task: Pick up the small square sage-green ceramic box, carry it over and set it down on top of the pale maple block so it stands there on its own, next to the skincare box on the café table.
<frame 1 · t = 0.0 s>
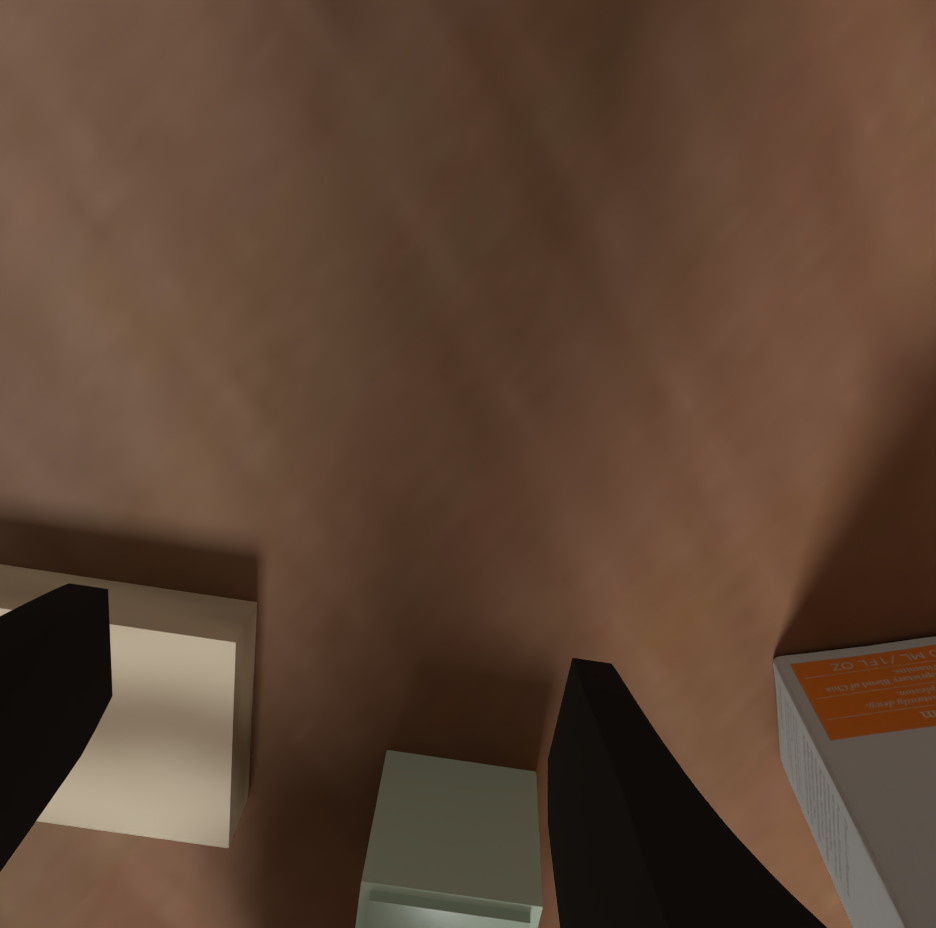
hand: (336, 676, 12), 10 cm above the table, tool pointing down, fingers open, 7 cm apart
maple block: (135, 679, 25), on the table
sage box: (451, 814, 27), on the table
skincare box: (866, 689, 24), on the table
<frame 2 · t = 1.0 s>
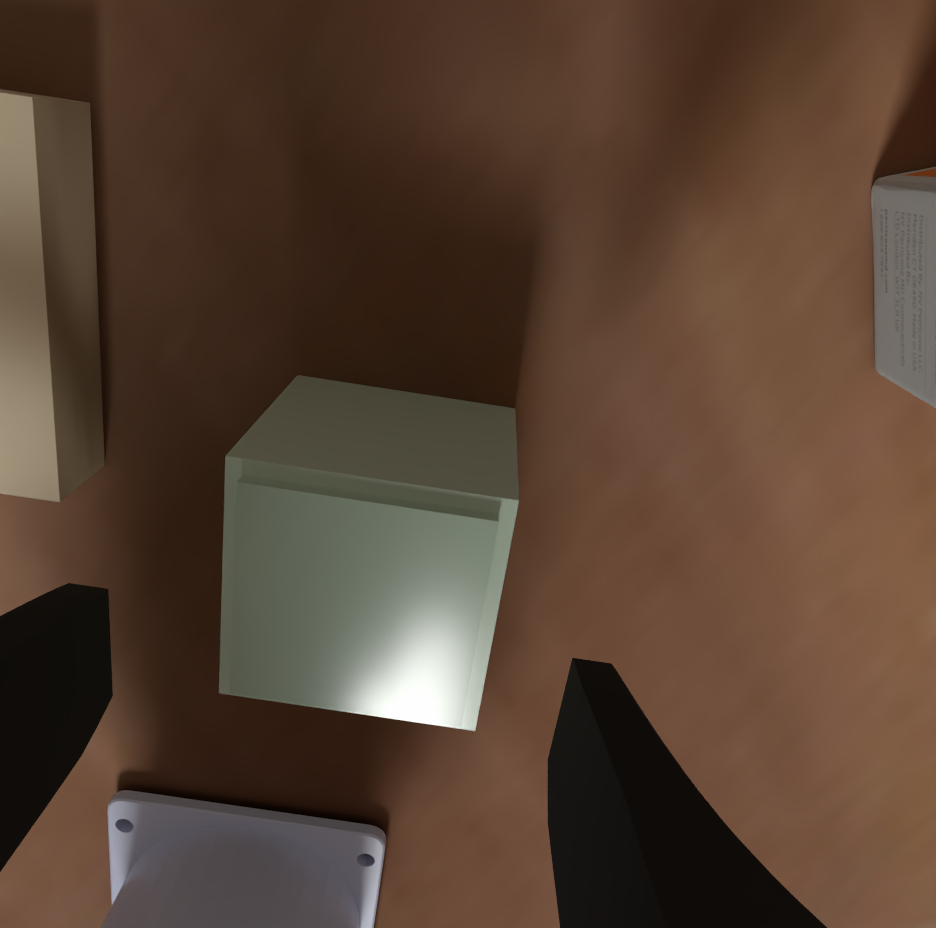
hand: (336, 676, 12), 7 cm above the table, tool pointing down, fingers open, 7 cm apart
sage box: (395, 489, 19), on the table
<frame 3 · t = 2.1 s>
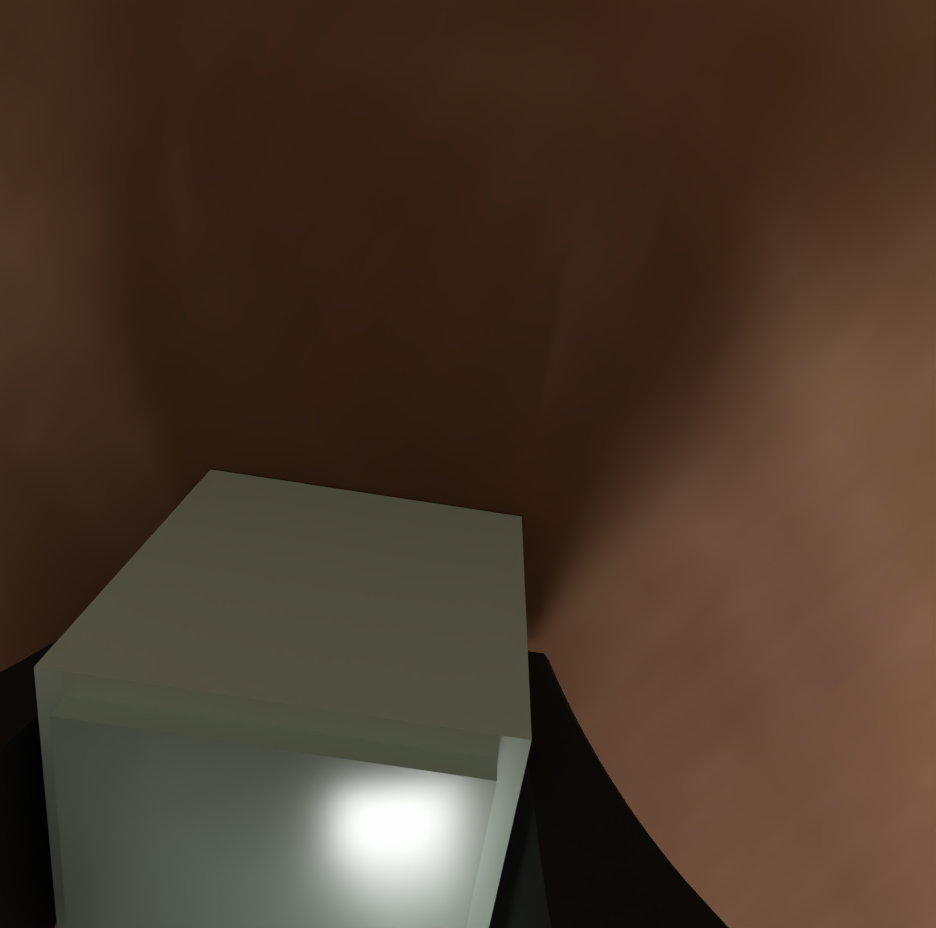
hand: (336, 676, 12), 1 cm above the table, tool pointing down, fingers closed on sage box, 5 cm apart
sage box: (352, 623, 13), on the table, touching gripper
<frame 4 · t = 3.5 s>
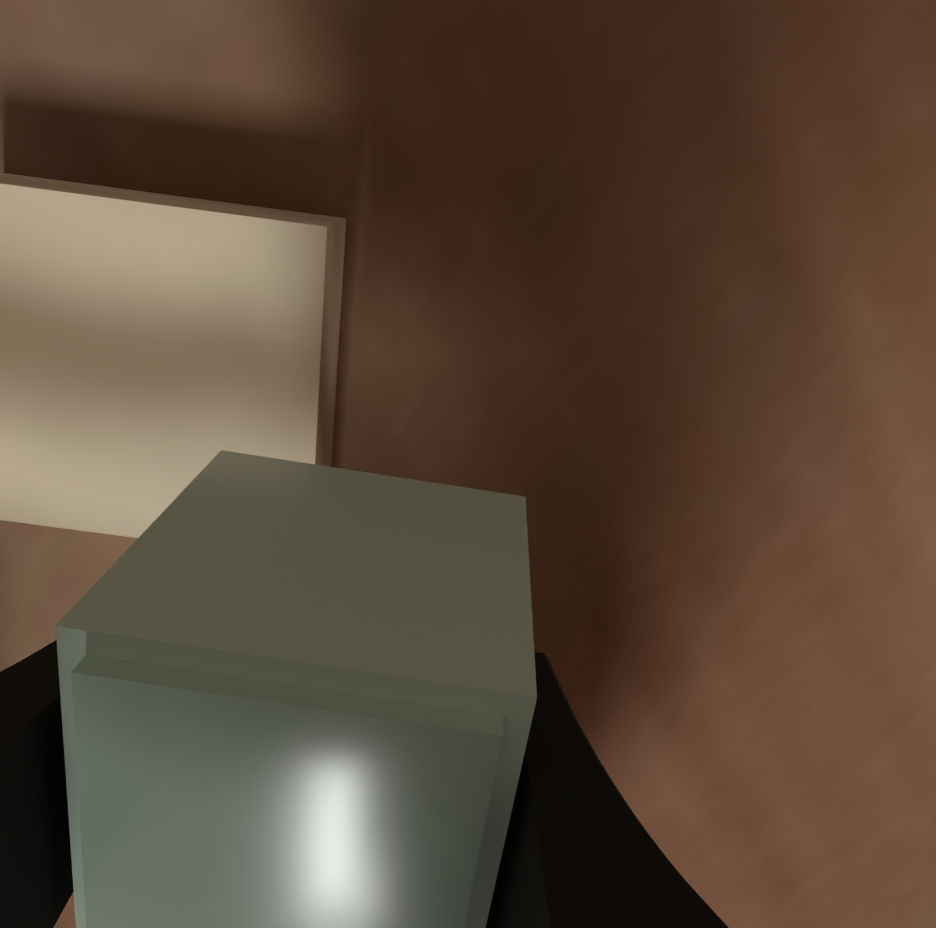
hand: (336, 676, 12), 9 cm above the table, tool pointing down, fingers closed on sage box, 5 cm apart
maple block: (185, 357, 20), on the table
sage box: (359, 603, 14), point 7 cm above the table, touching gripper
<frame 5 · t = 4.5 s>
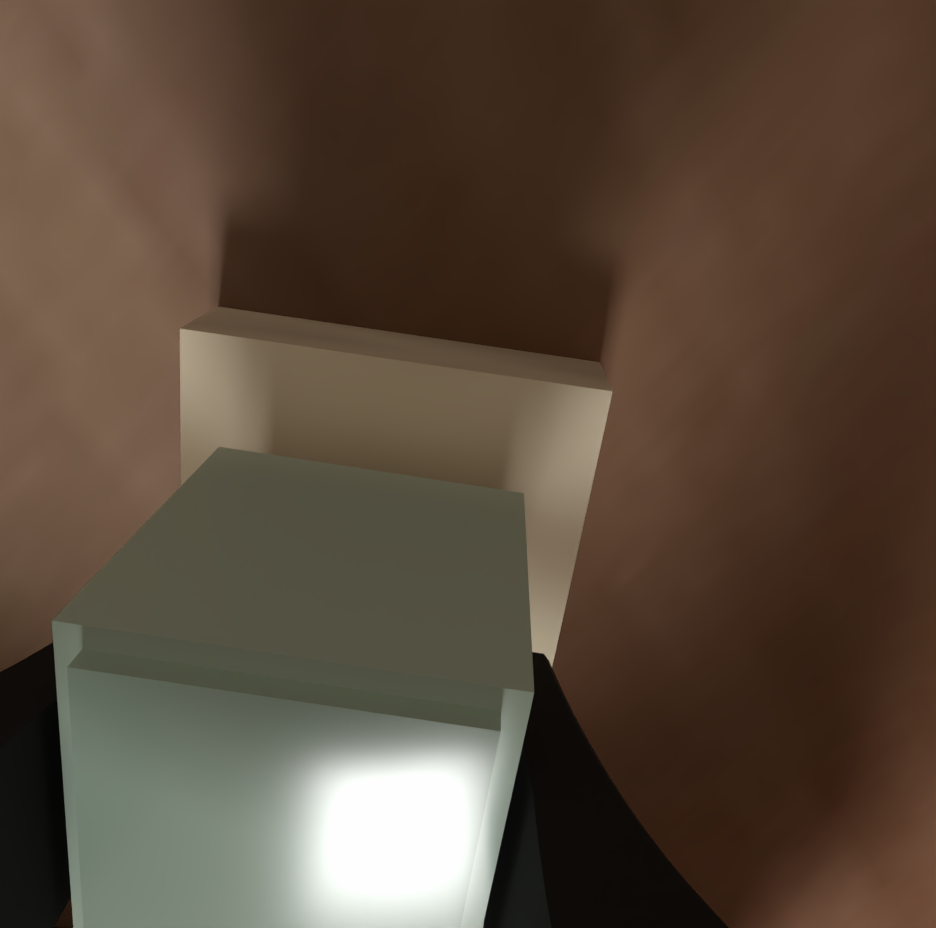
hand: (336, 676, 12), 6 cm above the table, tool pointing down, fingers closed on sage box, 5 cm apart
maple block: (393, 498, 18), on the table
sage box: (357, 600, 14), point 4 cm above the table, touching gripper
when the fingers open (5 cm above the table, at t = 5.1 s): sage box drops 1 cm, resting on maple block.
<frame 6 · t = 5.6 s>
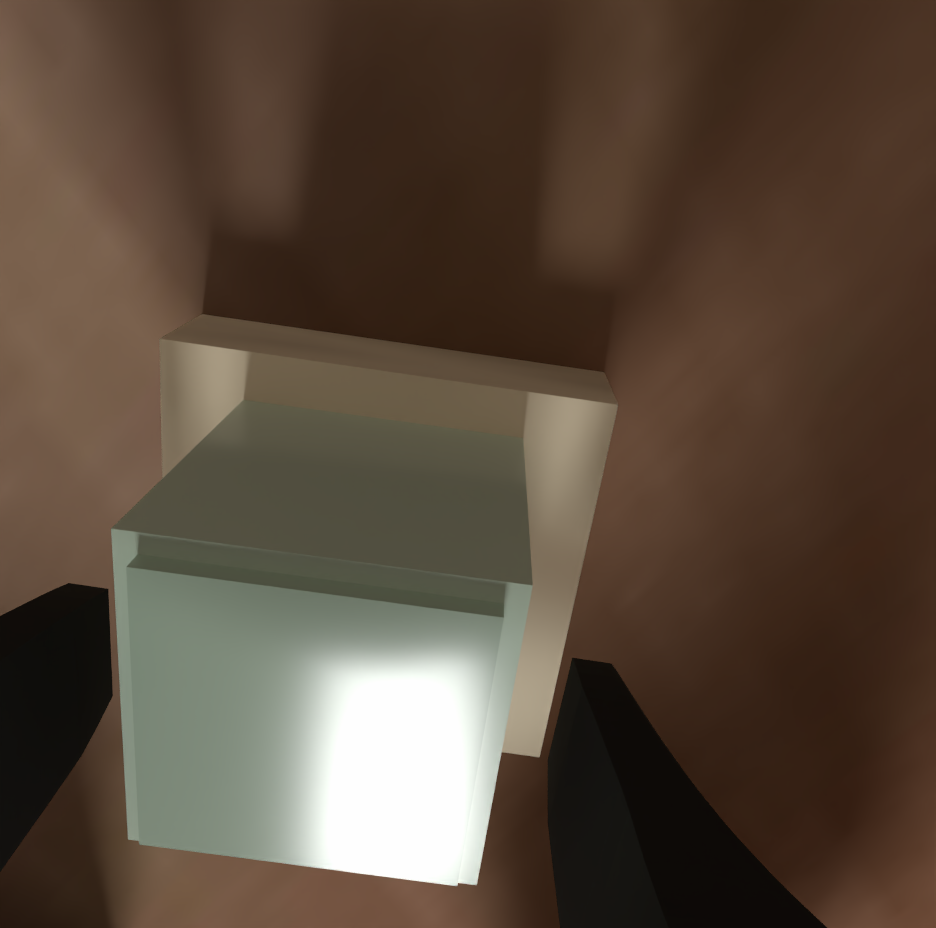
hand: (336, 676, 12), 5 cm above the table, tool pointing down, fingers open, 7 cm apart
maple block: (387, 512, 17), on the table, touching sage box
sage box: (372, 542, 15), point 2 cm above the table, touching maple block
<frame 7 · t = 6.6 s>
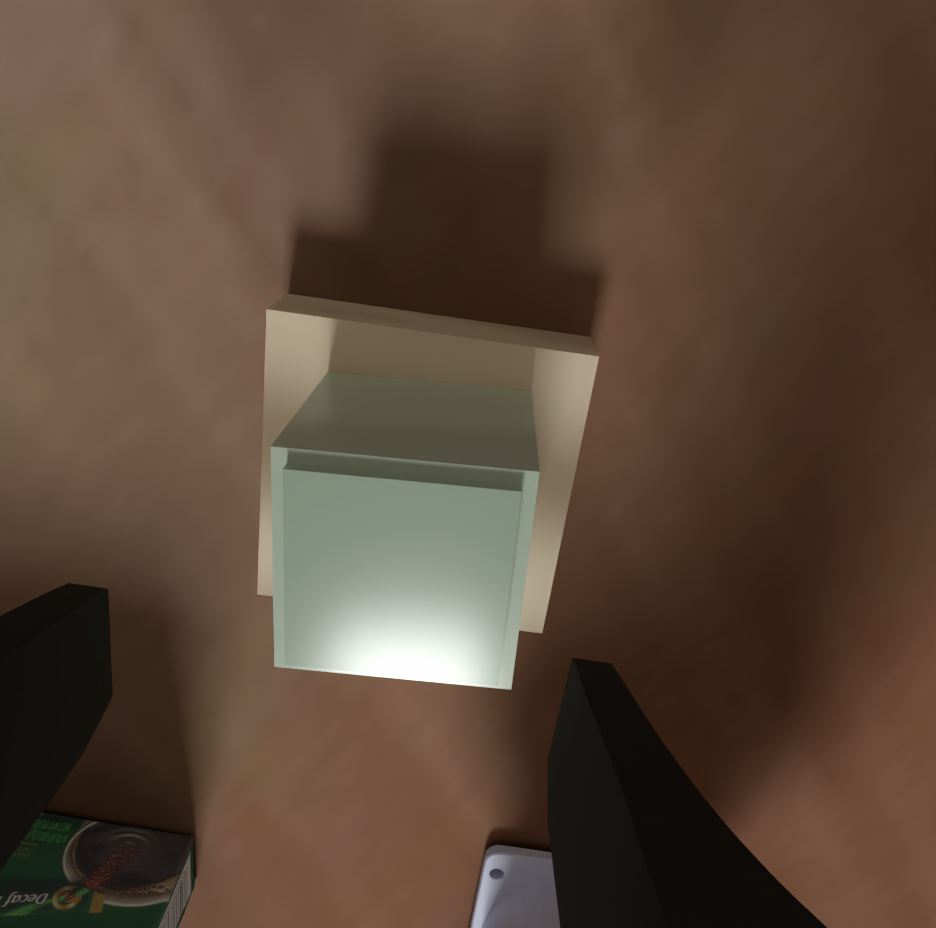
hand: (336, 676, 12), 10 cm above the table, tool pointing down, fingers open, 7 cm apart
coffee box: (98, 837, 28), on the table
maple block: (424, 448, 22), on the table, touching sage box
sage box: (423, 474, 20), point 2 cm above the table, touching maple block
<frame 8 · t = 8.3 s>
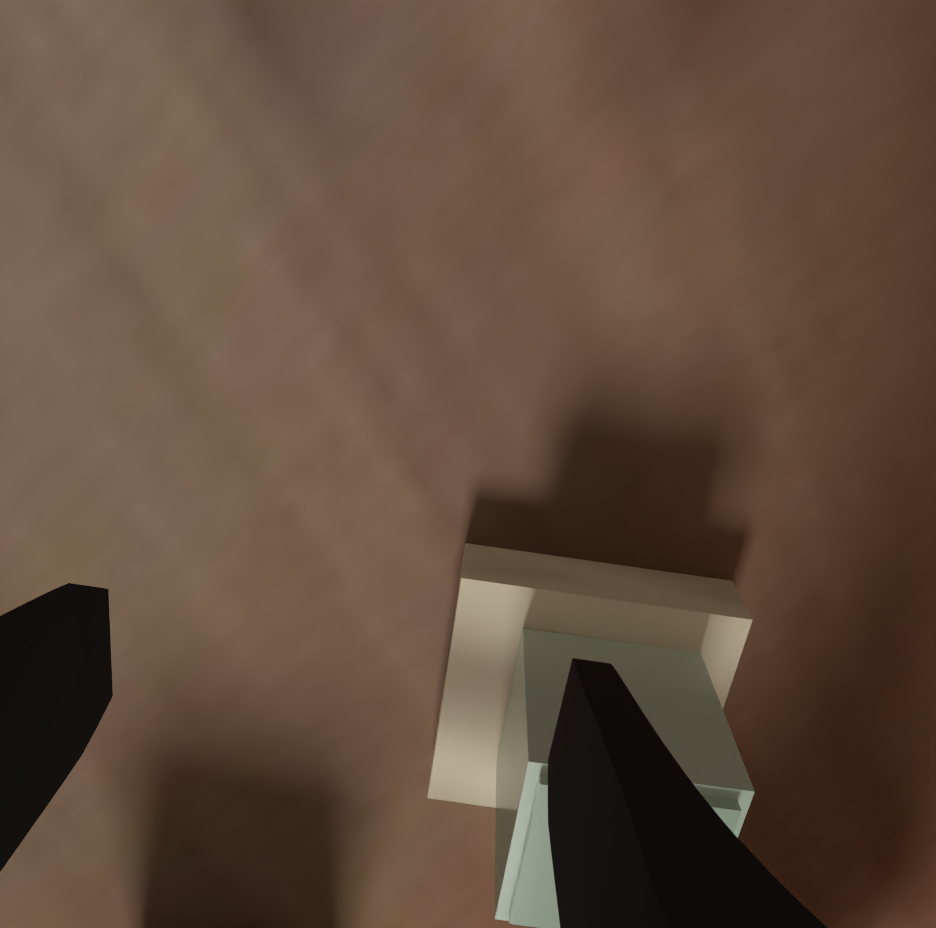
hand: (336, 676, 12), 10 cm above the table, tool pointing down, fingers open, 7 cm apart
maple block: (572, 661, 25), on the table, touching sage box
sage box: (594, 711, 22), point 2 cm above the table, touching maple block
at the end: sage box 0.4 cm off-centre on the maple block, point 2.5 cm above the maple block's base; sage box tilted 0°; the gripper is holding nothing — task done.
